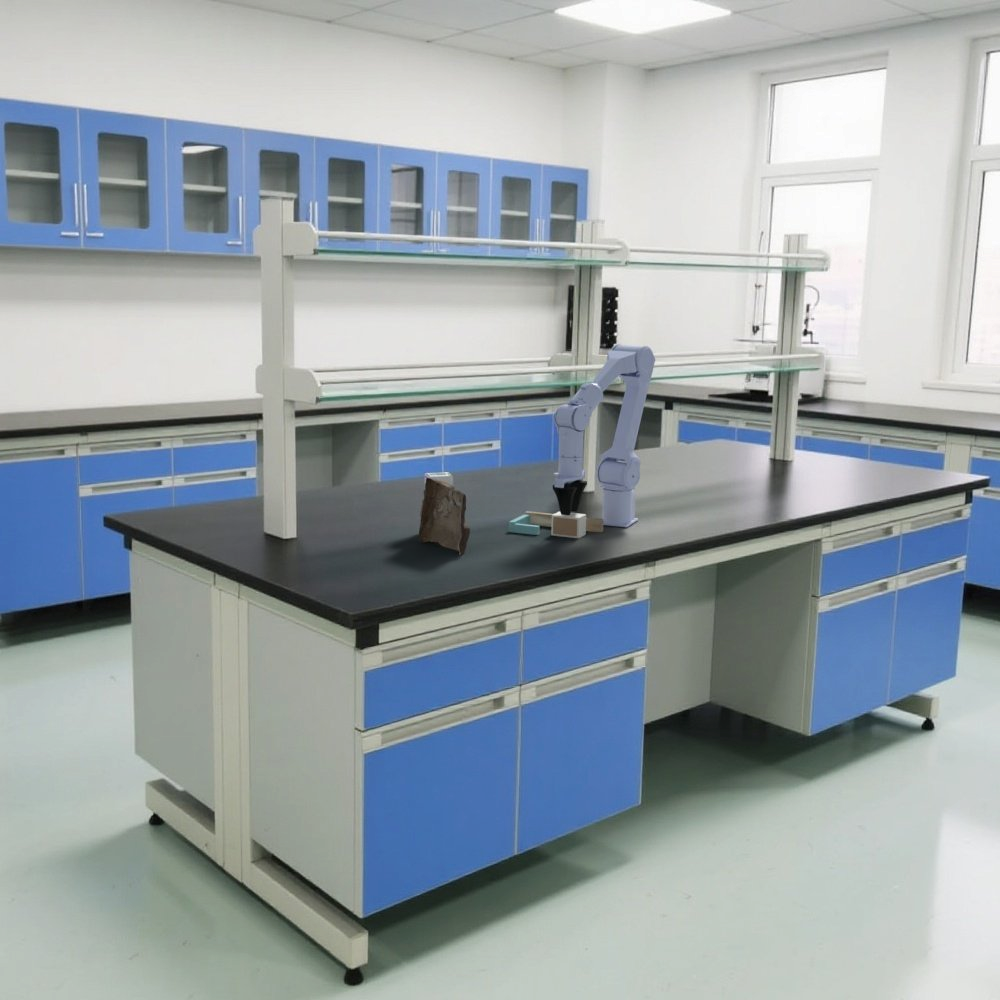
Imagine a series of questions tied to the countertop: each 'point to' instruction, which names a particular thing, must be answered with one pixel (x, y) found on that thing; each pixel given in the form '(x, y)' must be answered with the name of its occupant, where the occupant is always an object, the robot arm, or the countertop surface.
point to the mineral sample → (444, 516)
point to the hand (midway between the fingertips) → (569, 512)
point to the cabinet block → (568, 525)
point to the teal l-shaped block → (523, 526)
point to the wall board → (546, 520)
